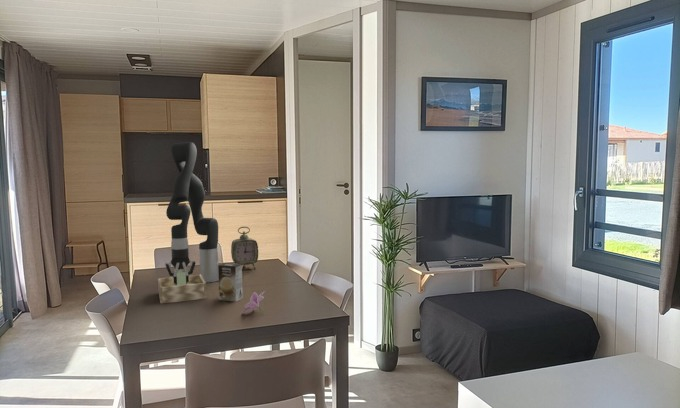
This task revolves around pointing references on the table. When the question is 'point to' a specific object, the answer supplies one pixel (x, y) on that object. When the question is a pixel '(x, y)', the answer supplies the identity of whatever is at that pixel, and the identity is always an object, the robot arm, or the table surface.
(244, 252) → the tabletop clock
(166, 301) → the box
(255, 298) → the lily
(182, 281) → the peg
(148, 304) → the table surface
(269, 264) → the table surface
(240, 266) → the coffee box
